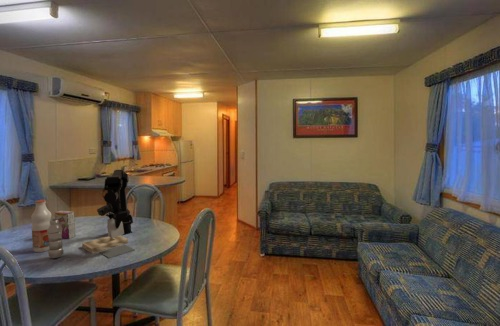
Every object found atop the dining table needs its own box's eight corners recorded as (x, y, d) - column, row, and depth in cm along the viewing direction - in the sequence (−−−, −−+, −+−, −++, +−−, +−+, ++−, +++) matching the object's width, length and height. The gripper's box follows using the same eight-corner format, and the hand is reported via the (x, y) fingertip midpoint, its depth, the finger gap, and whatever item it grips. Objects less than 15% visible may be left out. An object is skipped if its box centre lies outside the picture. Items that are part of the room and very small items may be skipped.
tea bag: (124, 233, 155) (121, 216, 153) (111, 238, 149) (109, 220, 148) (121, 232, 157) (118, 215, 156) (108, 236, 152) (106, 219, 150)
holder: (117, 237, 175) (117, 234, 175) (128, 242, 166) (127, 238, 166) (82, 247, 160) (82, 243, 160) (91, 253, 151) (91, 248, 151)
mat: (124, 245, 163) (124, 244, 163) (134, 250, 155) (134, 249, 155) (99, 252, 152) (99, 251, 152) (108, 258, 144) (108, 257, 144)
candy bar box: (55, 237, 177) (53, 212, 176) (62, 235, 182) (61, 210, 181) (68, 239, 174) (67, 213, 173) (76, 236, 179) (74, 211, 178)
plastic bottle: (53, 255, 149) (50, 218, 148) (66, 254, 150) (64, 218, 148) (45, 260, 143) (42, 221, 141) (59, 259, 143) (57, 221, 142)
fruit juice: (38, 247, 161) (35, 199, 159) (56, 245, 163) (53, 198, 161) (29, 253, 152) (25, 202, 150) (49, 251, 154) (45, 201, 152)
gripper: (91, 199, 152) (92, 228, 153) (105, 204, 139) (107, 234, 140) (112, 196, 160) (113, 223, 161) (127, 200, 148) (129, 229, 149)
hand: (115, 227), depth 153 cm, fingers closed on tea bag, 4 cm apart
